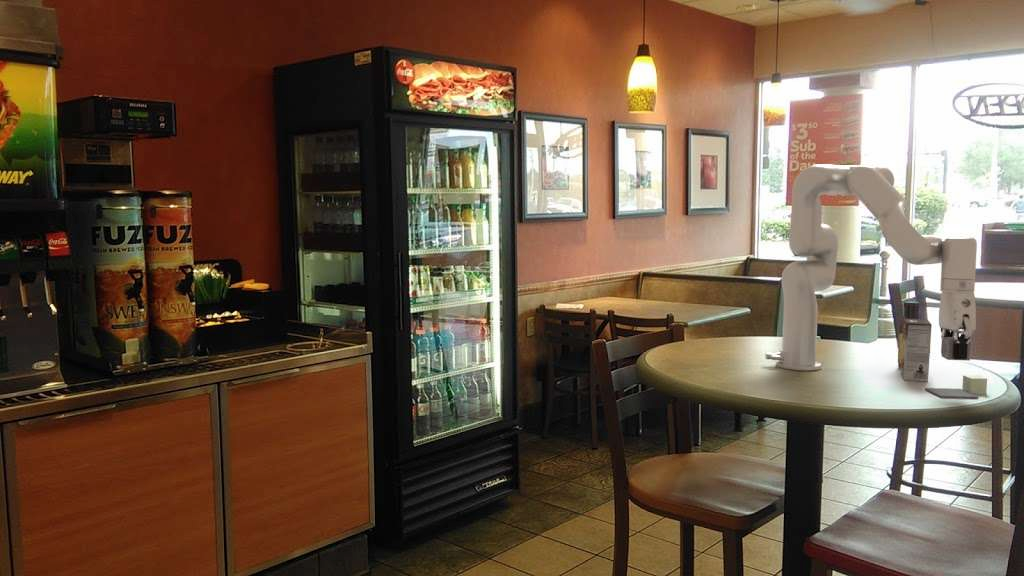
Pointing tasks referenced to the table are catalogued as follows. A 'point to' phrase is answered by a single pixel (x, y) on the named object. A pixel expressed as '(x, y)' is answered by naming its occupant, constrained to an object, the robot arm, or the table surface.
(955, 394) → the black mat
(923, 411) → the table surface
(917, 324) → the coffee box
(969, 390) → the sage block
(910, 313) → the sauce bottle
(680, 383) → the table surface
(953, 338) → the grey cube
